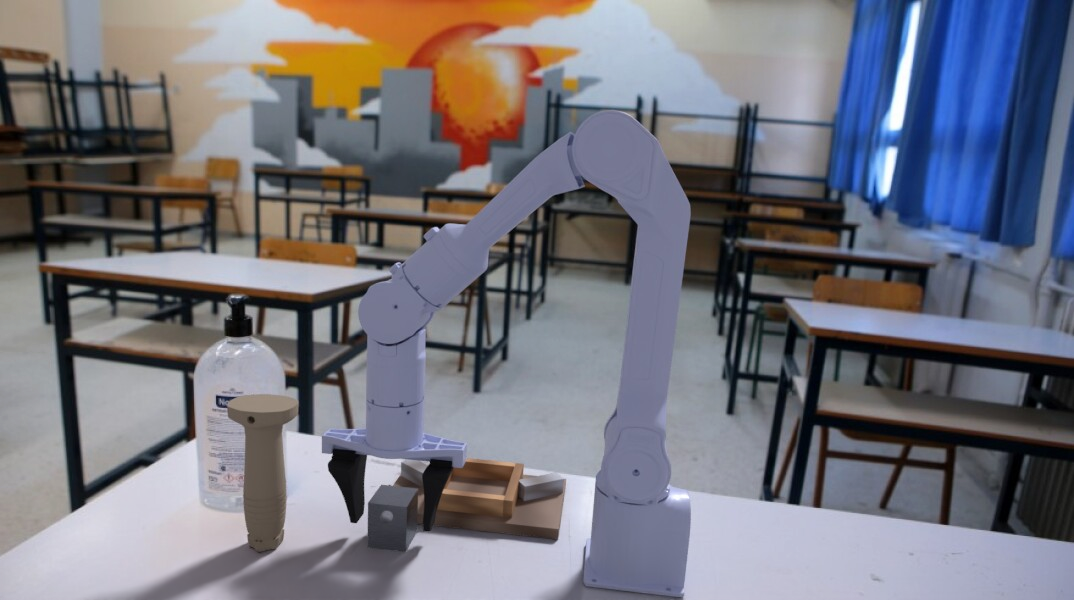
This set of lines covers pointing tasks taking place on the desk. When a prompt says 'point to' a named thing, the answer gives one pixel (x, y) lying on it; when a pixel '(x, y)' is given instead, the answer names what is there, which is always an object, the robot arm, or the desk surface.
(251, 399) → the handle
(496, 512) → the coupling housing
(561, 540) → the desk surface
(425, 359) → the robot arm
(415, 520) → the block
